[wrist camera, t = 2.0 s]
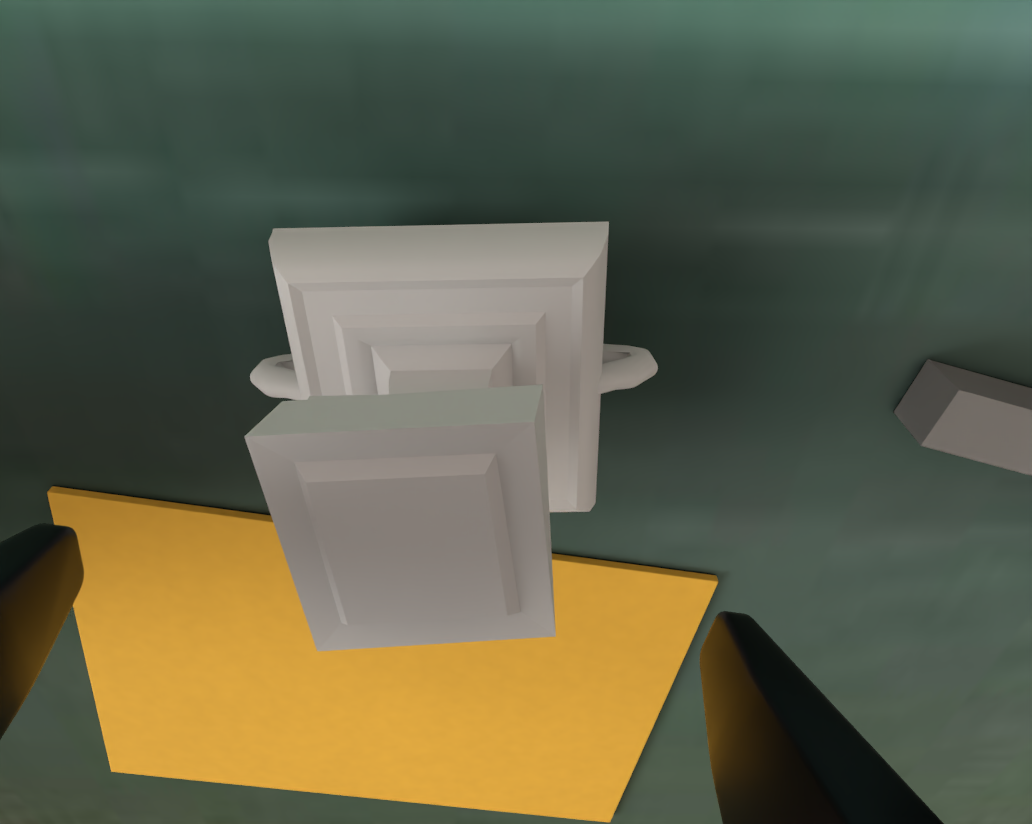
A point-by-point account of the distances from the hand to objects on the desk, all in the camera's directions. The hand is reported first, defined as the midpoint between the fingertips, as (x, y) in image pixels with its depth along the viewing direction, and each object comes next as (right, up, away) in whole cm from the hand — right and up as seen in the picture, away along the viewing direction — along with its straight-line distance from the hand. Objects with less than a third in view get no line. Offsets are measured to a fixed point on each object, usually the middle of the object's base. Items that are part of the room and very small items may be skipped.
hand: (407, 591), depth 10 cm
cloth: (-3, -7, +15) cm, 17 cm away
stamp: (0, +5, +8) cm, 9 cm away
